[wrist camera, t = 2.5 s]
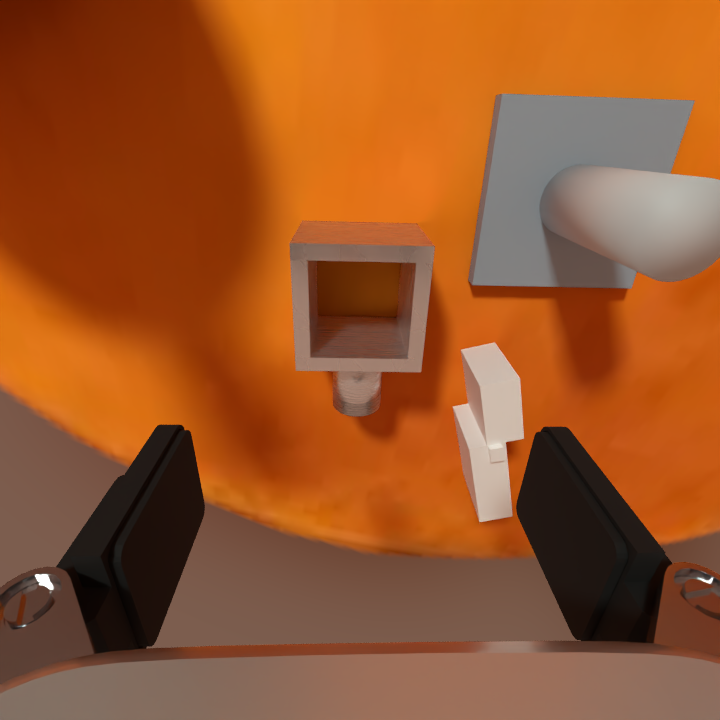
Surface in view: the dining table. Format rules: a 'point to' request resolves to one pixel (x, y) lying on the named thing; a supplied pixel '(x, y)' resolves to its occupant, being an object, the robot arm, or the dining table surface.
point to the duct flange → (591, 195)
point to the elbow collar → (353, 333)
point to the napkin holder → (488, 428)
